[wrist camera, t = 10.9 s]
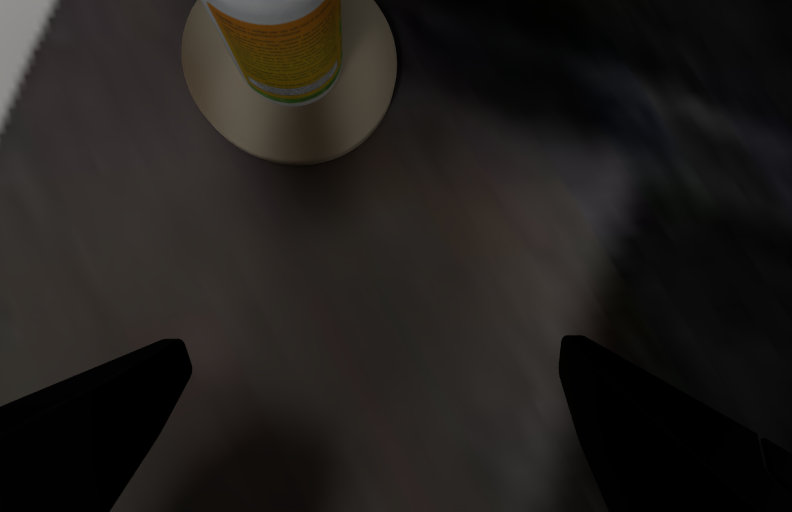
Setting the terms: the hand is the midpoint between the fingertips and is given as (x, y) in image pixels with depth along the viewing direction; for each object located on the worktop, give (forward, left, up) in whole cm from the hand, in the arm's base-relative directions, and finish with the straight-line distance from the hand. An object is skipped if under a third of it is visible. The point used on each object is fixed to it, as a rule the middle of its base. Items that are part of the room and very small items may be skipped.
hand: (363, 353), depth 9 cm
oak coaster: (+2, +14, -11) cm, 18 cm away
